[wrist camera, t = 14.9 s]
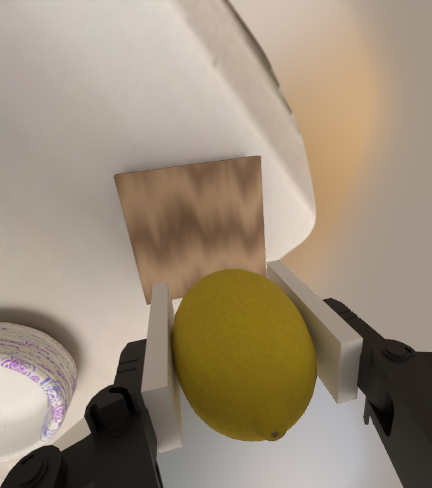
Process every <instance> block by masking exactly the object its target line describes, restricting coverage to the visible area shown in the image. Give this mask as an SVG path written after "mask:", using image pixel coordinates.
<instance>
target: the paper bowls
mask: <svg viewBox="0 0 432 488" xmlns="http://www.w3.org/2000/svg"><path fill="white" fill-rule="evenodd" d="M76 384H77V369H76V366H75V362H74V360H73V358H72V357H71V355H70V354H69V352H68V351H67V350H66V349H65V348H64V347H63V346H62V345H61V344H60V343H59V342H57V341H56V340H55V339H53V338H52V337H50V336H49V335H47V334H46V333H44V332H42V331H39V330H37V329H34V328H31V327H28V326H24V325H20V324H14V323H7V322H0V462H5V461H9V460H13V459H17V458H20V457H23V456H25V455H27V454H29V453H30V452H31V451H33V450H35V449H37V448H40V447H42V446H43V445H45V444H46V443H47V442H48V441H49V440H50V439H51V438H52V437H53V436H54V435H55V434H56V432H57V431H58V429H59V428H60V426H61V425H62V422H63V420H64V418H65V415H66V412H67V409H68V407H69V405H70V403H71V400H72V396H73V394H74V392H75V388H76Z"/></svg>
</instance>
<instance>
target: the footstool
mask: <svg viewBox="0 0 432 488" xmlns="http://www.w3.org/2000/svg"><path fill="white" fill-rule="evenodd" d="M114 179H115V183H116V186H117V190H118V194H119V198H120V202H121V206H122V210H123V214H124V218H125V221H126V225H127V229H128V233H129V237H130V241H131V245H132V249H133V252H134V256H135V260H136V264H137V268H138V272H139V276H140V280H141V284H142V287H143V291H144V295H145V299H146V303H147V305H148V304H151V299H152V290H153V284H157V283H162V282H168V286H169V291H170V296H171V300H173V299H177V298H182V297H184V296H185V294H186V293H187V292H188V291H189V290H190V288H191V287H192V286H193V285H194V284H195V283H196V282H198V281H199V280H200V279H202V278H203V277H205V276H207V275H209V274H211V273H213V272H216V271H220V270H225V269H243V270H247V271H251V272H254V273H257V274H260V275H262V276H263V277H265V278H266V260H265V239H264V218H263V197H262V176H261V156H250V157H243V158H235V159H228V160H220V161H213V162H205V163H198V164H191V165H183V166H176V167H168V168H161V169H153V170H146V171H138V172H131V173H123V174H116V175H115V176H114Z"/></svg>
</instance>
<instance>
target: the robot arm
mask: <svg viewBox="0 0 432 488" xmlns="http://www.w3.org/2000/svg"><path fill="white" fill-rule="evenodd" d="M267 275H268V280H270V281H271V282H273V283H275V284H276V285H277V286H278V287H280V288H281V289H282V290H283V291H284V293H285V294H286V295H287V296H288V297H289V298H290V299H291V301H292V302H293V303H294V304H295V306H296V307H297V309H298V310H299V312H300V313H301V315H302V317H303V319H304V322H305V324H306V326H307V329H308V331H309V334H310V336H311V338H312V341H313V344H314V348H315V353H316V362H317V375H318V376H319V378H320V379H321V381H322V382H323V384H324V385H325V387H326V388H327V390H328V391H329V392H330V394H331V395H332V397H333V398H334V400H335V401H336V403H337V404H340V403H343V402H347V401H350V400H354V399H357V391H358V387H359V388H360V389H361V391H362V392H363V393H364V394H365V395H366V401H365V410H364V417H363V418H364V422H365V424H367V425H368V423H369V416H370V417H371V419H372V421H373V424H374V426H375V428H376V430H377V432H378V434H379V436H380V438H381V441H382V443H383V444H384V447H385V449H386V451H387V453H388V455H389V457H390V460H391V462H392V464H393V466H394V468H395V470H396V473H397V475H398V477H399V479H400V481H401V483H402V485H403V487H404V488H432V352H416V351H415V350H414V349H412V348H411V347H410V346H408V345H406V344H404V343H402V342H399V341H396V340H390V339H384V338H383V337H382V336H381V335H380V334H378V333H377V332H376V331H375V330H373V329H372V328H371V327H370V326H369V325H368V324H366V323H365V322H364V321H363V320H362V319H361V318H358V316H357V315H356V314H355V313H353V312H351V310H350V309H349V308H348V307H346V306H345V305H344V304H343V303H341V302H339V301H337V300H335V299H332V298H329V299H324V300H322V299H321V298H320V297H318V296H317V295H316V294H315V293H314V292H313V291H312V290H311V289H310V288H309V287H308V286H307V285H306V284H304V283H303V282H302V281H301V280H300V279H299V278H298V277H297V276H296V275H295V274H294V273H293V272H292V271H291V270H290V269H289V268H288V267H286V266H285V265H284V264H283V263H282V262H281V261H280V260H277V261H272V262H267ZM174 319H175V315H174V310H173V305H172V301H171V296H170V291H169V286H168V282H162V283H157V284H153V290H152V299H151V307H150V316H149V325H148V334H147V339H143V340H139V341H134V342H130V343H128V344H127V345H126V347H125V348H124V349H123V351H122V352H121V355H120V359H119V365H118V368H117V372H116V373H117V374H116V376H115V380H114V384H113V385H110V386H107V387H106V388H104V389H102V390H101V391H99V392H98V393H97V394H96V395H95V396H94V397H93V398H92V399H91V401H90V402H89V404H88V405H87V407H86V410H85V415H84V417H85V419H86V421H87V424H88V426H89V428H90V431H91V434H90V435H88V436H87V437H85V438H84V439H82V440H81V441H79V442H77V443H75V444H74V445H72V446H70V447H68V448H66V449H65V450H63V451H61V452H60V450H59V448H57V447H55V446H53V445H48V446H42V447H40V448H37V449H35V450H33V451H31V452H30V453H29V454H27V455H26V456H25V457H23V458H22V459H21V460H20V461H19V462H18V463H17V464H16V465H15V466H14V467H13V468H12V469H11V470H10V472H9V473H8V475H7V477H6V478H5V480H4V481H3V483H2V485H1V487H0V488H164V487H163V483H162V479H161V475H160V471H159V467H158V464H157V461H156V457H157V455H156V454H157V446H158V449H159V452H160V453H162V452H166V451H169V450H173V449H176V448H180V447H183V441H182V421H181V403H180V383H179V380H178V377H177V374H176V370H175V364H174V358H173V352H172V332H173V325H174Z"/></svg>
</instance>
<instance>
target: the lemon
mask: <svg viewBox="0 0 432 488" xmlns="http://www.w3.org/2000/svg"><path fill="white" fill-rule="evenodd" d="M172 352H173V358H174V364H175V370H176V374H177V377H178V380H179V383H180V385H181V388H182V390H183V392H184V394H185V396H186V398H187V400H188V401H189V403H190V405H191V407H192V408H193V410H194V411H195V413H196V414H197V415H198V416H199V417H200V418H201V419H202V420H203V421H204V422H205V423H206V424H207V425H208V426H209V427H211V428H212V429H214V430H215V431H217V432H219V433H221V434H223V435H225V436H228V437H230V438H233V439H237V440H242V441H263V440H268V441H276V440H278V439H280V438H282V437H283V436H284V435H285V433H286V431H287V430H288V429H290V428H291V427H292V426H293V425H294V424H295V423H296V422H297V421H298V420H299V418H300V417H301V416H302V415H303V413H304V412H305V410H306V408H307V406H308V404H309V402H310V400H311V398H312V395H313V391H314V387H315V382H316V378H317V362H316V353H315V348H314V344H313V341H312V338H311V336H310V334H309V331H308V329H307V326H306V324H305V322H304V319H303V317H302V315H301V313H300V312H299V310H298V309H297V307H296V306H295V304H294V303H293V302H292V301H291V299H290V298H289V297H288V296H287V295H286V294H285V293H284V291H283V290H282V289H281V288H280V287H278V286H277V285H276V284H275V283H273V282H271V281H270V280H268V279H267V278H265V277H263V276H262V275H260V274H257V273H254V272H251V271H247V270H243V269H225V270H220V271H216V272H213V273H211V274H209V275H207V276H205V277H203V278H202V279H200V280H199V281H198V282H196V283H195V284H194V285H193V286H192V287H191V288H190V290H189V291H188V292H187V293H186V294H185V296H184V297H183V299H182V301H181V303H180V305H179V308H178V310H177V312H176V315H175V319H174V325H173V332H172Z"/></svg>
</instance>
